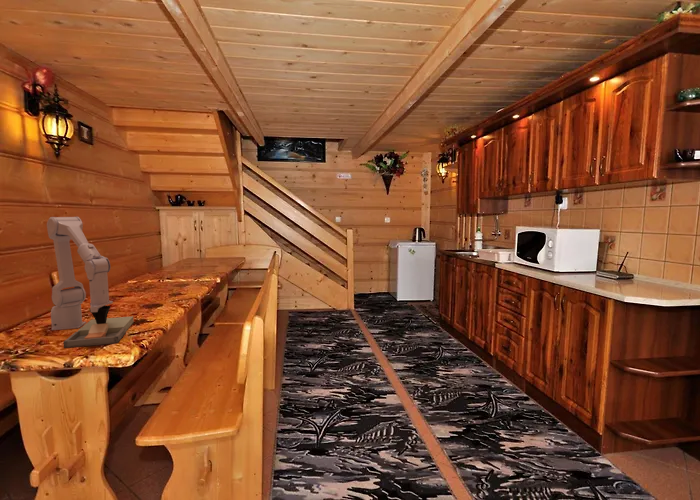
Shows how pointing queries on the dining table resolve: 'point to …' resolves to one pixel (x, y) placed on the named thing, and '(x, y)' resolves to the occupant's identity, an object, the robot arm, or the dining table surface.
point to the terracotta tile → (96, 335)
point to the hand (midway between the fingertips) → (101, 326)
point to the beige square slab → (109, 325)
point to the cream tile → (99, 328)
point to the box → (93, 339)
